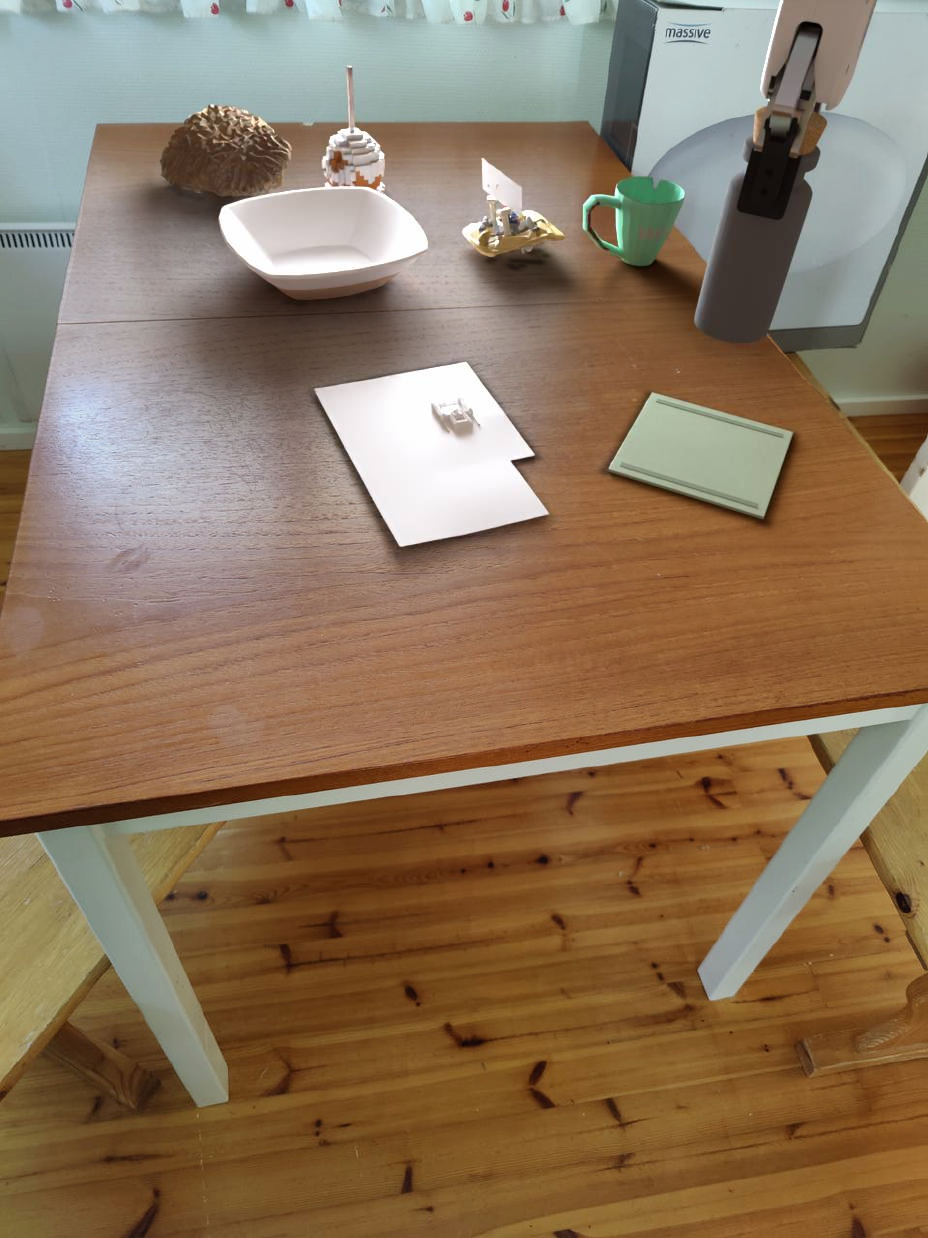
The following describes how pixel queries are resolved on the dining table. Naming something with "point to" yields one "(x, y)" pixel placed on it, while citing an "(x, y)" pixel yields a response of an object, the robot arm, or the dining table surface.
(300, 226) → the bowl
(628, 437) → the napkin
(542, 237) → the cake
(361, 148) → the decorative ornament
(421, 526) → the paper
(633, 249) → the mug
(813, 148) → the bottle
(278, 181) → the coral
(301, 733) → the dining table surface
